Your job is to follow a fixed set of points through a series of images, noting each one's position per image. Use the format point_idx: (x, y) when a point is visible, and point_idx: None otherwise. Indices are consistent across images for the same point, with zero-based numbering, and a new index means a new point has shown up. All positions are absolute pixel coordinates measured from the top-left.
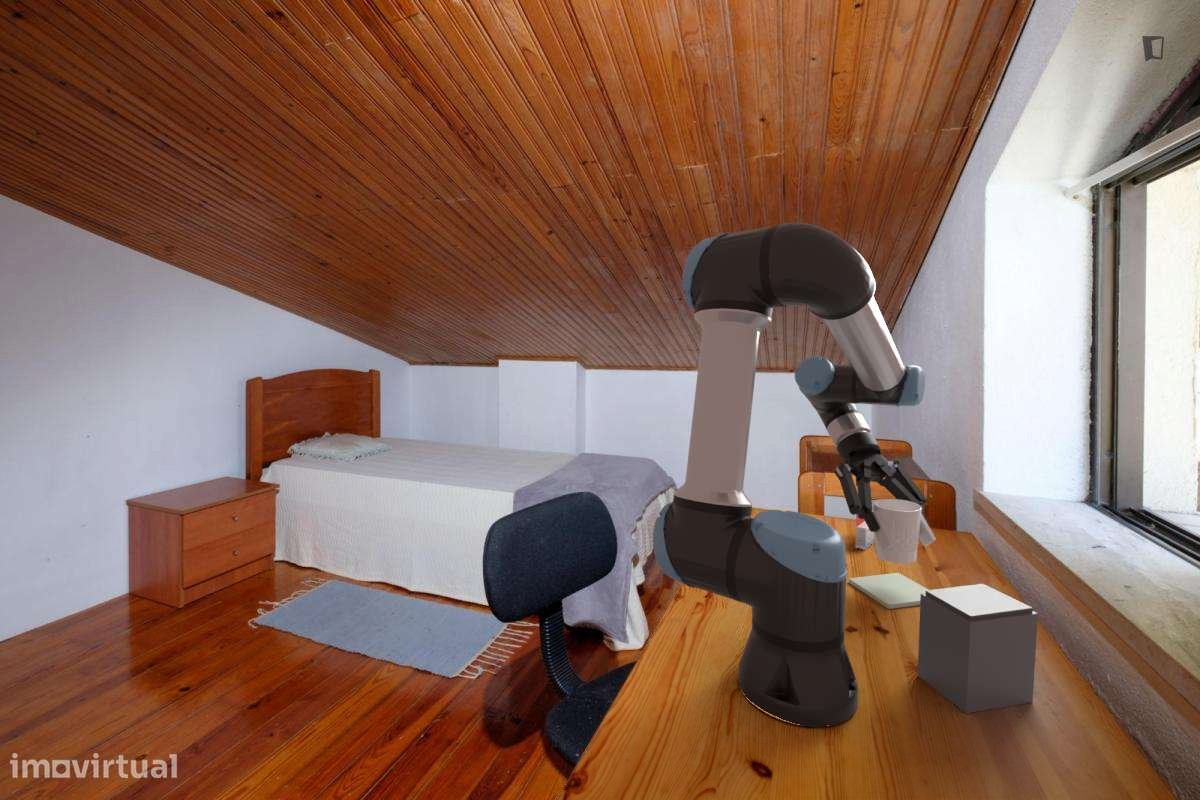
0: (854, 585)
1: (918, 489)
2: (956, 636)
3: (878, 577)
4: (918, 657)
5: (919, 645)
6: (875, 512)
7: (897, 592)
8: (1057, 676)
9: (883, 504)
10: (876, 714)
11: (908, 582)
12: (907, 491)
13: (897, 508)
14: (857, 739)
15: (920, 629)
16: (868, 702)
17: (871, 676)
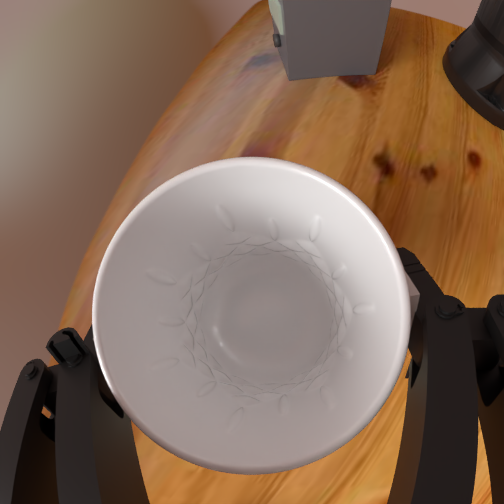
0: None
1: (5, 427)
2: None
3: None
4: (379, 56)
5: (381, 45)
6: (410, 285)
7: None
8: (208, 71)
9: (260, 448)
10: (428, 50)
11: None
12: (61, 437)
13: (181, 414)
14: (444, 40)
15: (384, 28)
16: (433, 60)
17: (424, 83)
